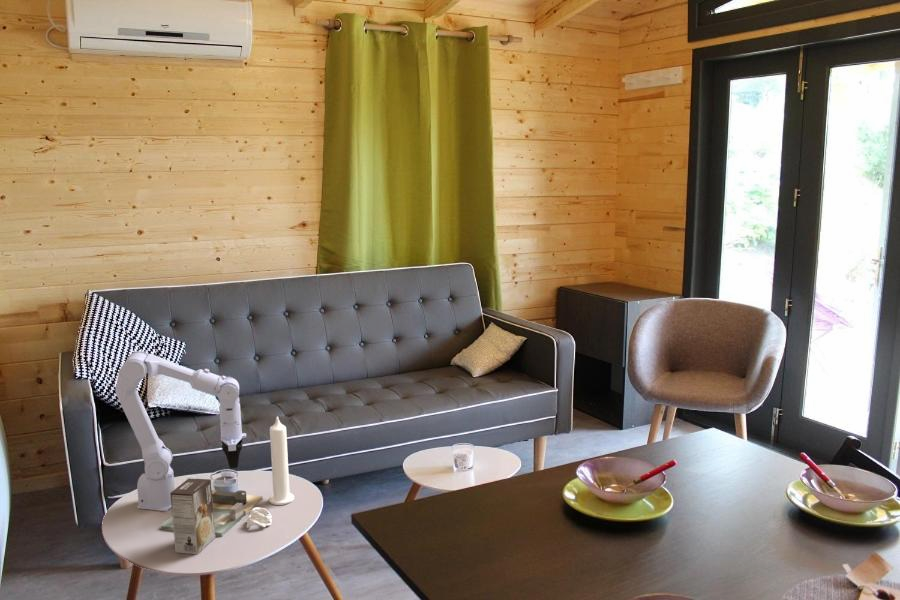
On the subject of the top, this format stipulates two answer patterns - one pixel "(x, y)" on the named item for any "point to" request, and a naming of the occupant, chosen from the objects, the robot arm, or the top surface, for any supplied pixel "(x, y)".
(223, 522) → the door and jamb
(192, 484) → the coffee box
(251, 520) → the white curved piece
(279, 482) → the candle
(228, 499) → the bar
